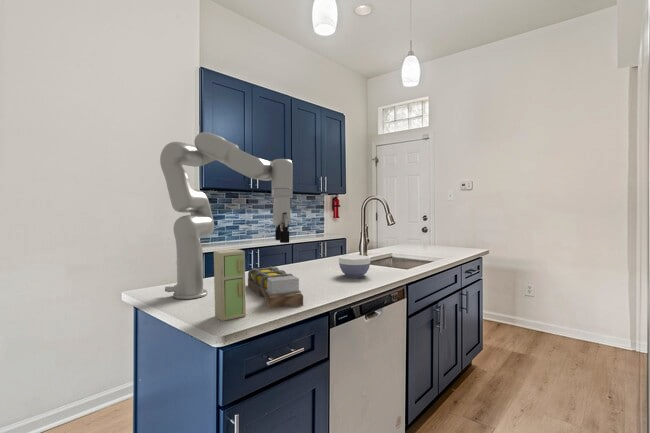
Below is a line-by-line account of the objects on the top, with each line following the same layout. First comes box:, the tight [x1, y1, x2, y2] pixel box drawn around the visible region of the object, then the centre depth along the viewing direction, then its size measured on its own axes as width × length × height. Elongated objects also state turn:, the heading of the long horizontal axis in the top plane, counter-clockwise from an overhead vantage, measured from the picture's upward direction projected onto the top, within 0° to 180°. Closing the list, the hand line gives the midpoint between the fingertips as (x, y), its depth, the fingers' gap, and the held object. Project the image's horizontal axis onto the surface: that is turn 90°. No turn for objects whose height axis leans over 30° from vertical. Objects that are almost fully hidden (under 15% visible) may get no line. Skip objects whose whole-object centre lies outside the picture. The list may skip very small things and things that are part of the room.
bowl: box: [338, 254, 371, 279], centre depth 174 cm, size 16×16×10 cm
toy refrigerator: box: [213, 248, 247, 322], centre depth 110 cm, size 8×7×21 cm
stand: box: [264, 292, 304, 309], centre depth 126 cm, size 12×10×4 cm
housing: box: [266, 275, 302, 296], centre depth 126 cm, size 11×7×5 cm, turn 115°
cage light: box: [247, 266, 294, 299], centre depth 146 cm, size 15×8×30 cm
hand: (282, 241), depth 125 cm, fingers open, 9 cm apart
